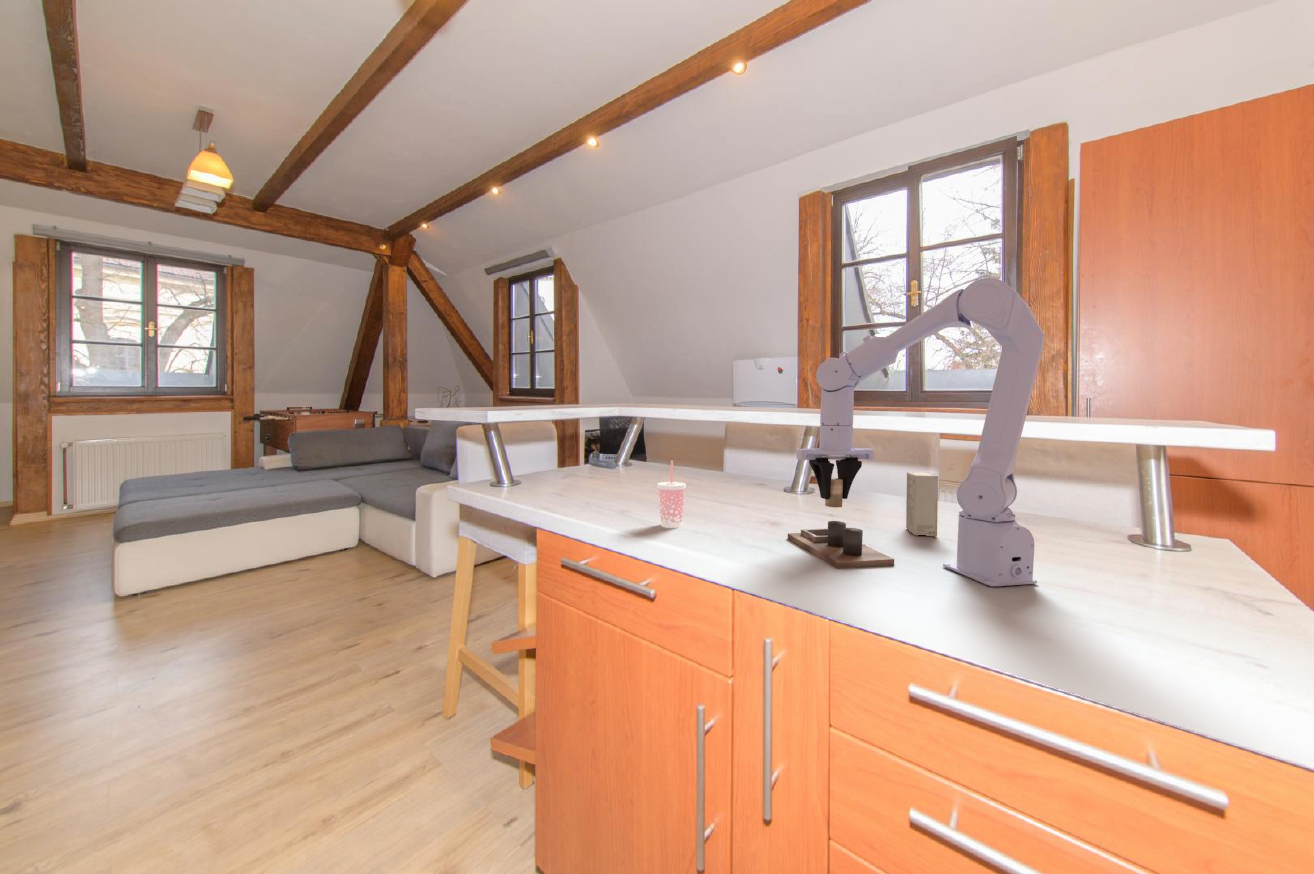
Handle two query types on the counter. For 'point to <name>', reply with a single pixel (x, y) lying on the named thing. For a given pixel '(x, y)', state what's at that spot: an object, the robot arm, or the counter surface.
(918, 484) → the skincare box
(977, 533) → the robot arm
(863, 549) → the pin board
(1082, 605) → the counter surface
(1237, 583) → the counter surface
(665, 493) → the beverage cup
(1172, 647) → the counter surface
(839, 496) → the maple pin
